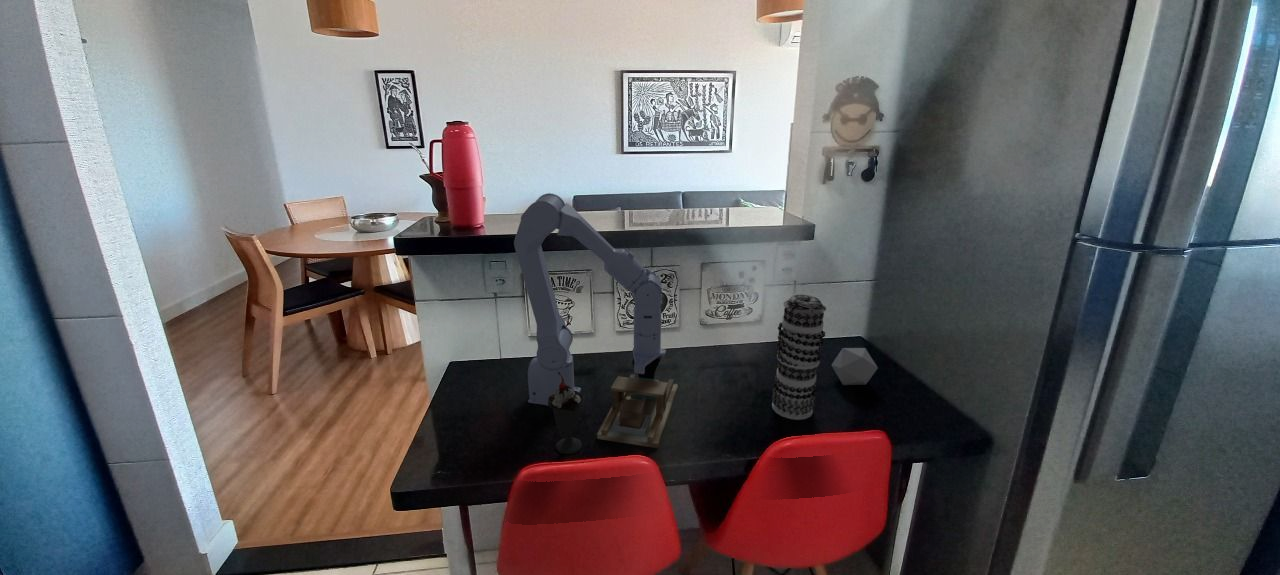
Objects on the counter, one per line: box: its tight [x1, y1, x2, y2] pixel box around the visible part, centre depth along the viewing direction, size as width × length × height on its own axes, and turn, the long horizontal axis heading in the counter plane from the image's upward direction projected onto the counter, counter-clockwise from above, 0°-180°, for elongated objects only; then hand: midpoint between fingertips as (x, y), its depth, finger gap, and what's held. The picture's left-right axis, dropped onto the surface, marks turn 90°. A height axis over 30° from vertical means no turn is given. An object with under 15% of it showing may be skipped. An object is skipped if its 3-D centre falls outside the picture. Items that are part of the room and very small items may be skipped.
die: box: [831, 347, 879, 386], centre depth 116 cm, size 8×9×10 cm
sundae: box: [547, 372, 586, 455], centre depth 92 cm, size 7×7×15 cm
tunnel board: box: [596, 373, 679, 449], centre depth 105 cm, size 12×22×7 cm, turn 166°
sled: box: [613, 376, 660, 436], centre depth 102 cm, size 6×14×5 cm, turn 166°
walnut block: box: [620, 399, 645, 429], centre depth 98 cm, size 4×4×4 cm
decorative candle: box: [771, 294, 827, 421], centre depth 103 cm, size 9×9×25 cm
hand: (646, 387), depth 110 cm, fingers closed
